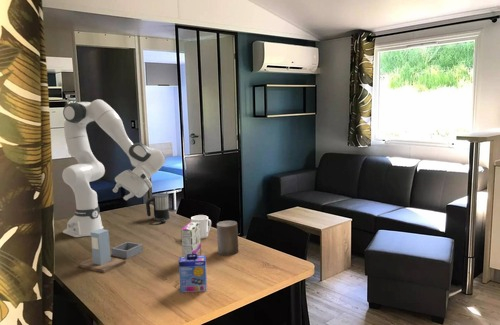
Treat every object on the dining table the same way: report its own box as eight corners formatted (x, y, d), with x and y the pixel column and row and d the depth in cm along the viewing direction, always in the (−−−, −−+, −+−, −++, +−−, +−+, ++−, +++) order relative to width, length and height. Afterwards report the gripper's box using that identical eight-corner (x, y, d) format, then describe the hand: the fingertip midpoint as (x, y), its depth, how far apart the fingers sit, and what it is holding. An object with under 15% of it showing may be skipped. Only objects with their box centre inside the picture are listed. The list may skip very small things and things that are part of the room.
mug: (188, 238, 212) (187, 219, 210) (197, 233, 220) (196, 214, 218) (207, 240, 208) (206, 220, 206) (215, 235, 216) (214, 216, 214)
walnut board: (78, 266, 178) (78, 263, 177) (100, 257, 188) (100, 254, 188) (104, 273, 170) (104, 270, 170) (125, 262, 180) (125, 260, 180)
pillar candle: (242, 251, 191) (241, 220, 189) (227, 257, 184) (226, 224, 182) (228, 246, 198) (227, 216, 196) (213, 252, 191) (212, 221, 189)
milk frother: (165, 215, 257) (163, 192, 255) (178, 220, 246) (177, 196, 244) (144, 220, 248) (142, 196, 246) (157, 225, 236) (155, 200, 234)
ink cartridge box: (179, 293, 150) (177, 255, 148) (181, 286, 155) (179, 250, 153) (206, 291, 150) (205, 254, 148) (207, 285, 156) (205, 248, 154)
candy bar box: (191, 256, 186) (189, 221, 184) (201, 257, 185) (200, 222, 183) (182, 266, 175) (180, 229, 173) (193, 266, 174) (191, 229, 172)
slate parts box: (92, 263, 178) (90, 232, 176) (103, 259, 182) (100, 228, 180) (100, 265, 175) (98, 233, 173) (111, 260, 180) (108, 230, 178)
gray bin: (112, 255, 190) (111, 248, 189) (128, 248, 199) (127, 241, 198) (127, 258, 185) (126, 251, 185) (142, 251, 194) (142, 244, 194)
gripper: (125, 164, 207) (104, 183, 202) (149, 179, 195) (127, 199, 190) (130, 172, 212) (110, 191, 206) (154, 187, 200) (134, 207, 194)
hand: (119, 195), depth 198 cm, fingers open, 8 cm apart
